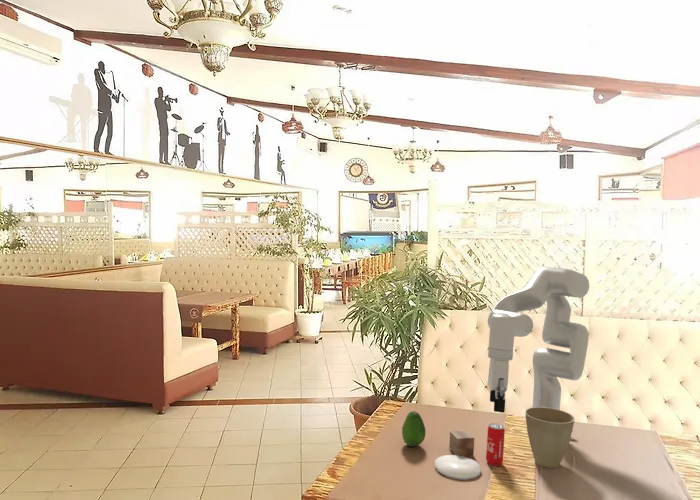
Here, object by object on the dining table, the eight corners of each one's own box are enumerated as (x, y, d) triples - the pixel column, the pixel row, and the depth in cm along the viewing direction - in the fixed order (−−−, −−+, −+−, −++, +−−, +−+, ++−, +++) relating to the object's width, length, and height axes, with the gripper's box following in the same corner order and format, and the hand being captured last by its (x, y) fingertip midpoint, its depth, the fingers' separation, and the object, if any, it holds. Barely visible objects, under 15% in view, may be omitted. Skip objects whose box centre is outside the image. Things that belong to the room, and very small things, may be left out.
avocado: (398, 447, 179) (400, 412, 178) (405, 439, 186) (406, 405, 185) (421, 452, 176) (423, 417, 175) (427, 443, 183) (429, 409, 182)
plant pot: (569, 457, 177) (573, 410, 176) (573, 477, 163) (576, 426, 162) (522, 449, 182) (525, 403, 181) (521, 468, 168) (524, 418, 167)
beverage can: (503, 467, 167) (505, 430, 167) (486, 465, 168) (488, 428, 168) (502, 460, 172) (504, 424, 172) (485, 458, 174) (487, 422, 173)
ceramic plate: (478, 461, 171) (478, 457, 171) (483, 481, 157) (483, 477, 157) (434, 456, 173) (434, 453, 173) (435, 476, 159) (435, 472, 159)
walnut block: (465, 447, 181) (466, 430, 181) (473, 455, 175) (474, 437, 175) (449, 448, 180) (450, 431, 180) (456, 456, 174) (457, 438, 174)
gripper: (485, 346, 178) (481, 397, 178) (491, 358, 161) (488, 414, 161) (508, 348, 177) (504, 399, 177) (517, 360, 160) (513, 417, 160)
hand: (496, 406), depth 169 cm, fingers open, 9 cm apart
